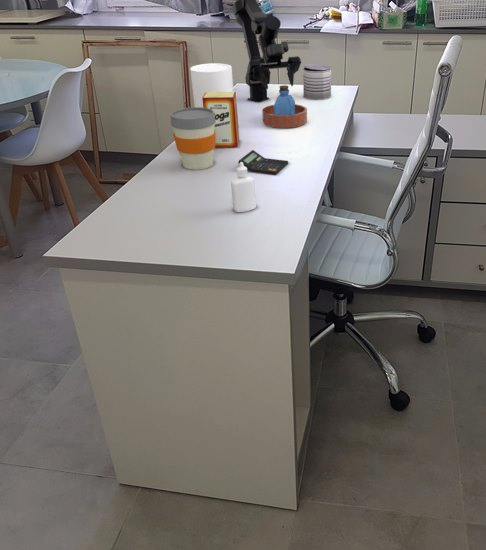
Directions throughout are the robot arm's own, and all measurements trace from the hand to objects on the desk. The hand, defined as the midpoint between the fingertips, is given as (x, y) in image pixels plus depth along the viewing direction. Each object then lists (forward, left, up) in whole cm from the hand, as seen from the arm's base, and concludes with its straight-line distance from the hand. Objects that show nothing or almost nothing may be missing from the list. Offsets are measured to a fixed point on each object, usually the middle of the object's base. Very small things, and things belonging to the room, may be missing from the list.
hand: (280, 86), depth 200 cm
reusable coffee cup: (+11, -49, -11) cm, 52 cm away
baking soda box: (+4, -32, -11) cm, 34 cm away
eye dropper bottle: (+44, -63, -11) cm, 78 cm away
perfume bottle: (+4, -2, -11) cm, 12 cm away
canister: (-11, -21, -11) cm, 27 cm away
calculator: (+28, -39, -11) cm, 49 cm away
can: (-9, +33, -11) cm, 36 cm away
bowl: (+4, -2, -11) cm, 12 cm away
